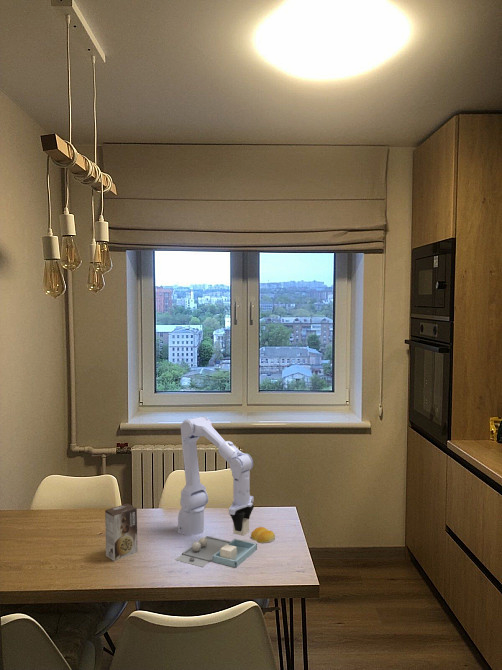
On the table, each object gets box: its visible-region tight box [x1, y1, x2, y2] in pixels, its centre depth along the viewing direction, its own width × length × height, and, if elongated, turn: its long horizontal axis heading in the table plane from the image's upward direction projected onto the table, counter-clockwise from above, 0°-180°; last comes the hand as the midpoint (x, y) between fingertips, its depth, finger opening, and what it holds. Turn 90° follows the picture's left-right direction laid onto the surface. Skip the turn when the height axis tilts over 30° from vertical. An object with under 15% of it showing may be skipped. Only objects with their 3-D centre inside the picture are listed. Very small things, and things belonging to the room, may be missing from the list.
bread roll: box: [250, 526, 276, 544], centre depth 192 cm, size 8×9×4 cm
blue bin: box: [212, 538, 258, 569], centre depth 178 cm, size 9×15×2 cm, turn 152°
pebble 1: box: [191, 541, 201, 552], centre depth 181 cm, size 3×3×3 cm
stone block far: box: [232, 518, 250, 537], centre depth 181 cm, size 4×4×4 cm
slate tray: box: [174, 535, 232, 568], centre depth 181 cm, size 12×20×1 cm, turn 152°
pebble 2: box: [197, 536, 207, 547], centre depth 184 cm, size 3×3×3 cm
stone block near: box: [220, 544, 237, 560], centre depth 173 cm, size 4×4×4 cm
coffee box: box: [104, 503, 139, 562], centre depth 179 cm, size 9×6×16 cm
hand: (241, 528), depth 181 cm, fingers closed on stone block far, 4 cm apart
